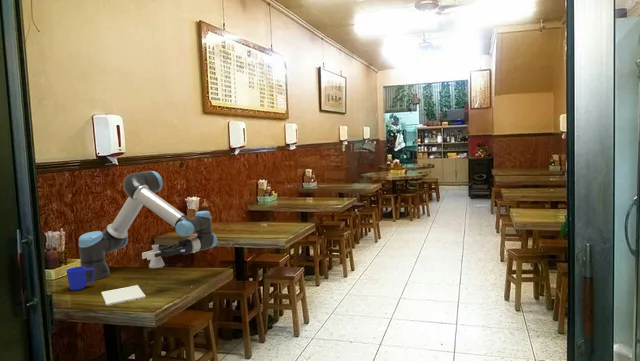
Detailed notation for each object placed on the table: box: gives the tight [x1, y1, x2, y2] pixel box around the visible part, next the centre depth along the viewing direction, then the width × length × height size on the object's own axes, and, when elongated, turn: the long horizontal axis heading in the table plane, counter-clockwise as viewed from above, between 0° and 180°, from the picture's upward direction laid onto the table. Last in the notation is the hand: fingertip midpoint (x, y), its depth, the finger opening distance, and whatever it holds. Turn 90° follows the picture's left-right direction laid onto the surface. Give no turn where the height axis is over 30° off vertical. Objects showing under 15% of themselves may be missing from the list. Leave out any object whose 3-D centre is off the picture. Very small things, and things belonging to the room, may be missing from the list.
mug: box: [66, 266, 95, 291], centre depth 224 cm, size 8×12×10 cm
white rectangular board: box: [101, 284, 146, 307], centre depth 209 cm, size 20×16×1 cm
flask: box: [148, 244, 166, 269], centre depth 212 cm, size 7×7×10 cm
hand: (145, 256), depth 208 cm, fingers closed on flask, 3 cm apart
